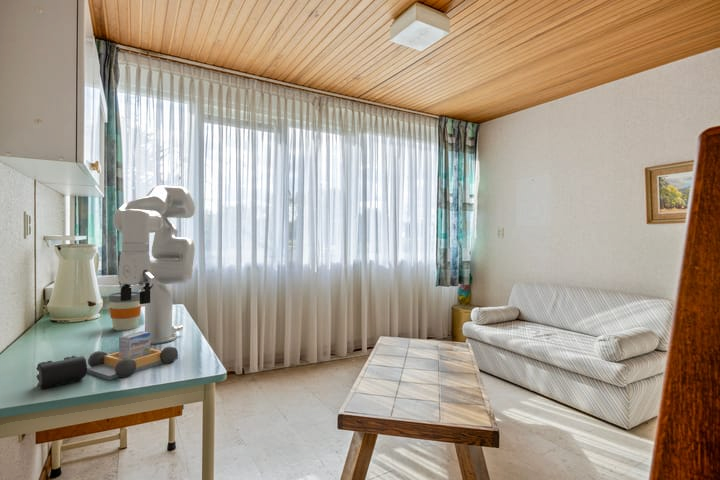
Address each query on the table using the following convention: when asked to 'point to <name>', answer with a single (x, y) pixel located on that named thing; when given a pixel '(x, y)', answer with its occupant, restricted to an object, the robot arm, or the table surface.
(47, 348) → the table surface
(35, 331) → the table surface
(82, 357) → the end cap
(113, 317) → the reusable coffee cup
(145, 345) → the medicine box
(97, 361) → the chassis
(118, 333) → the table surface
